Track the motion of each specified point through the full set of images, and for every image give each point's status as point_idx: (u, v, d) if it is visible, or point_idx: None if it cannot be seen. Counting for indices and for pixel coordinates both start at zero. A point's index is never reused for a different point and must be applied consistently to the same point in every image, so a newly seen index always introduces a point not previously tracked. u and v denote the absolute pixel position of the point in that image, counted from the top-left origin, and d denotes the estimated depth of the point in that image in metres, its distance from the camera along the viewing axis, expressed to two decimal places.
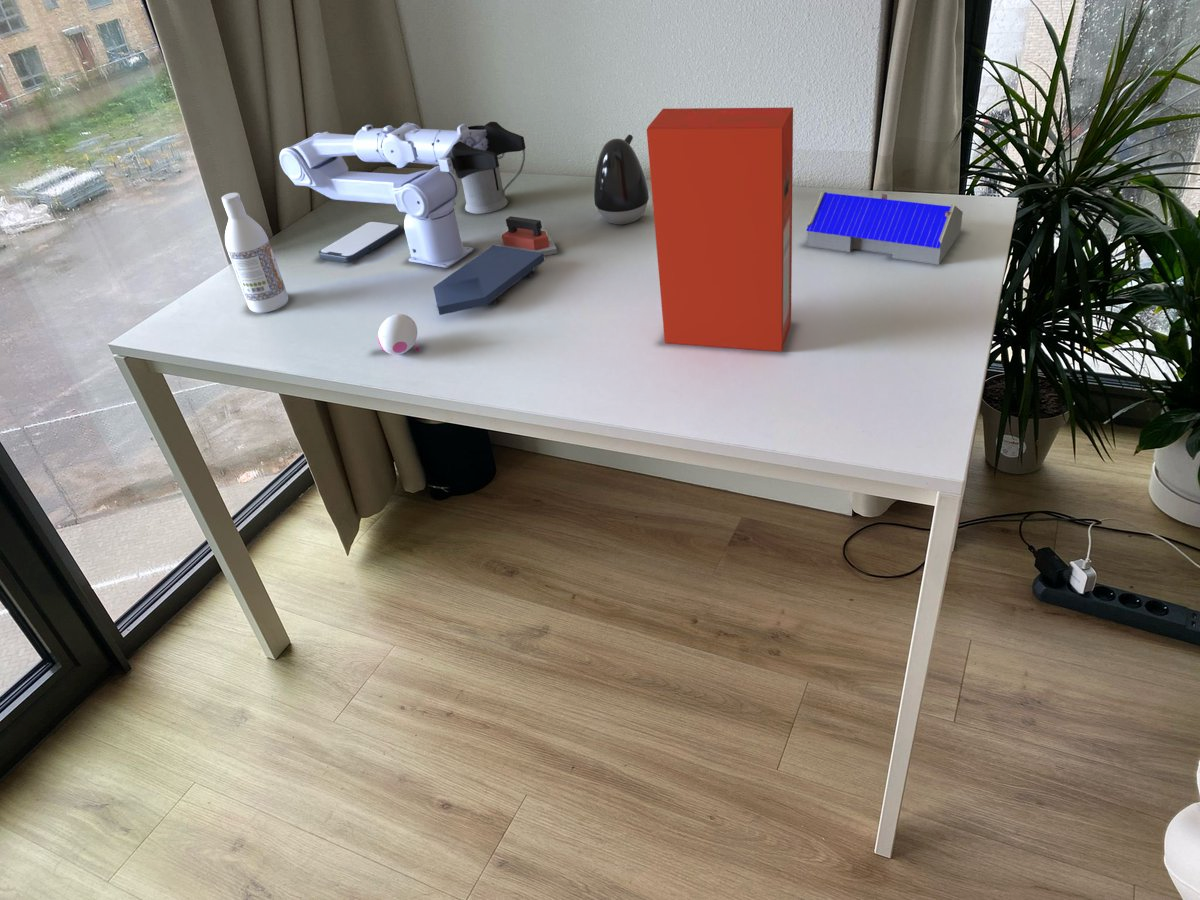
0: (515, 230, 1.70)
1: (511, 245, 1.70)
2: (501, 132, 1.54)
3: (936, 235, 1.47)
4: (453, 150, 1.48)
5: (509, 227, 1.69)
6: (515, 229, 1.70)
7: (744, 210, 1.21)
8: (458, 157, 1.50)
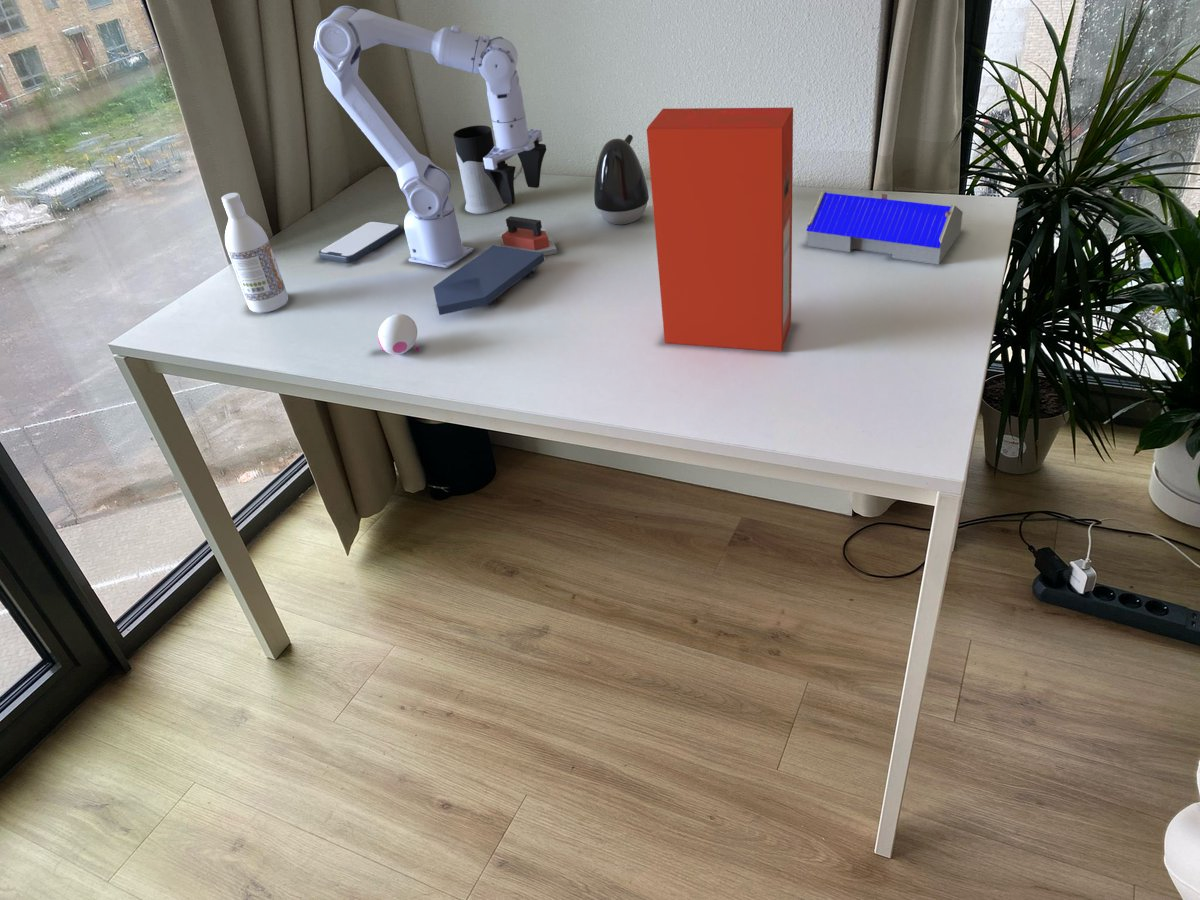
0: (515, 230, 1.70)
1: (511, 245, 1.70)
2: (537, 166, 1.64)
3: (936, 235, 1.47)
4: (505, 172, 1.55)
5: (509, 227, 1.69)
6: (515, 229, 1.70)
7: (744, 210, 1.21)
8: None
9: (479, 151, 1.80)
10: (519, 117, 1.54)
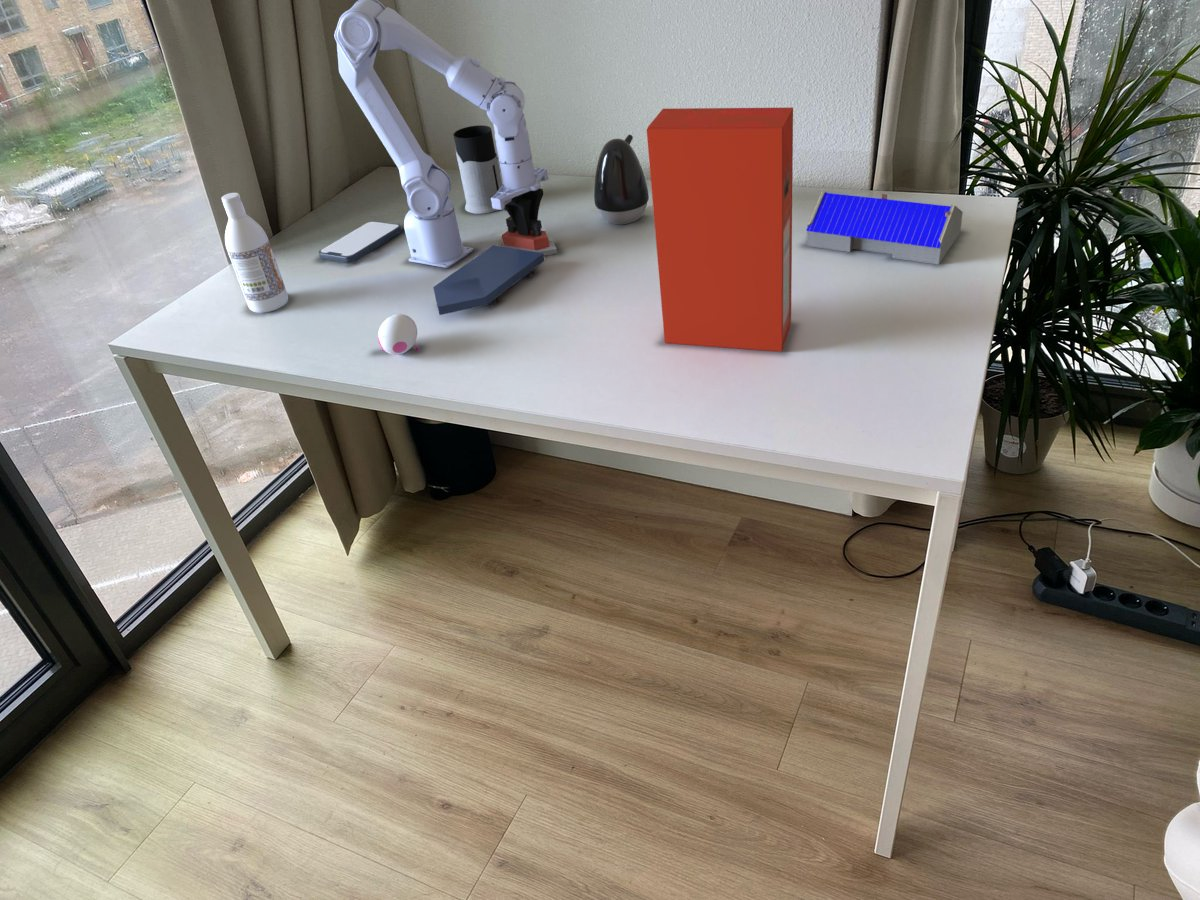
0: (515, 230, 1.70)
1: (511, 245, 1.70)
2: (534, 209, 1.66)
3: (936, 235, 1.47)
4: (521, 206, 1.61)
5: (509, 227, 1.69)
6: (515, 229, 1.70)
7: (744, 210, 1.21)
8: None
9: (479, 151, 1.80)
10: (526, 158, 1.58)
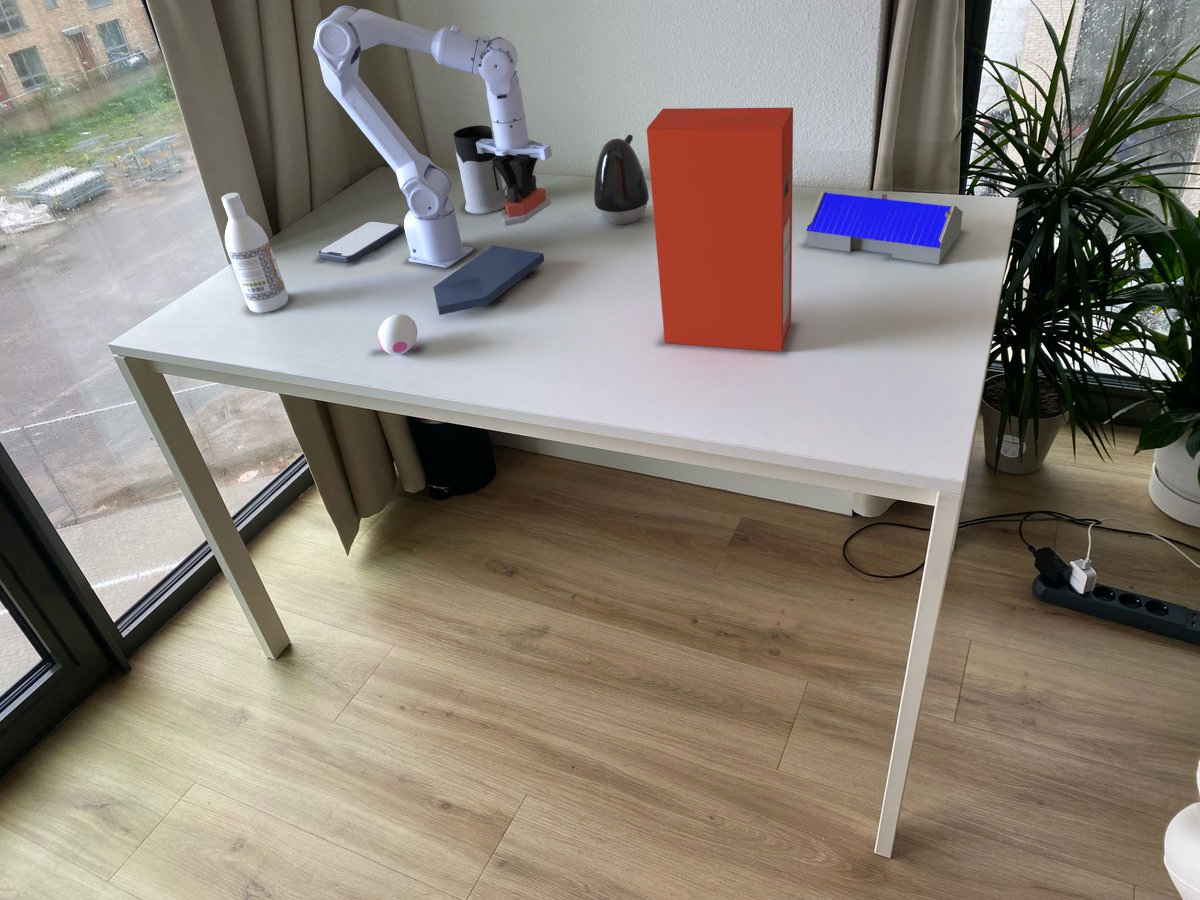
0: None
1: None
2: (516, 177, 1.60)
3: (936, 235, 1.47)
4: (492, 162, 1.61)
5: None
6: None
7: (744, 210, 1.21)
8: None
9: None
10: (519, 117, 1.54)
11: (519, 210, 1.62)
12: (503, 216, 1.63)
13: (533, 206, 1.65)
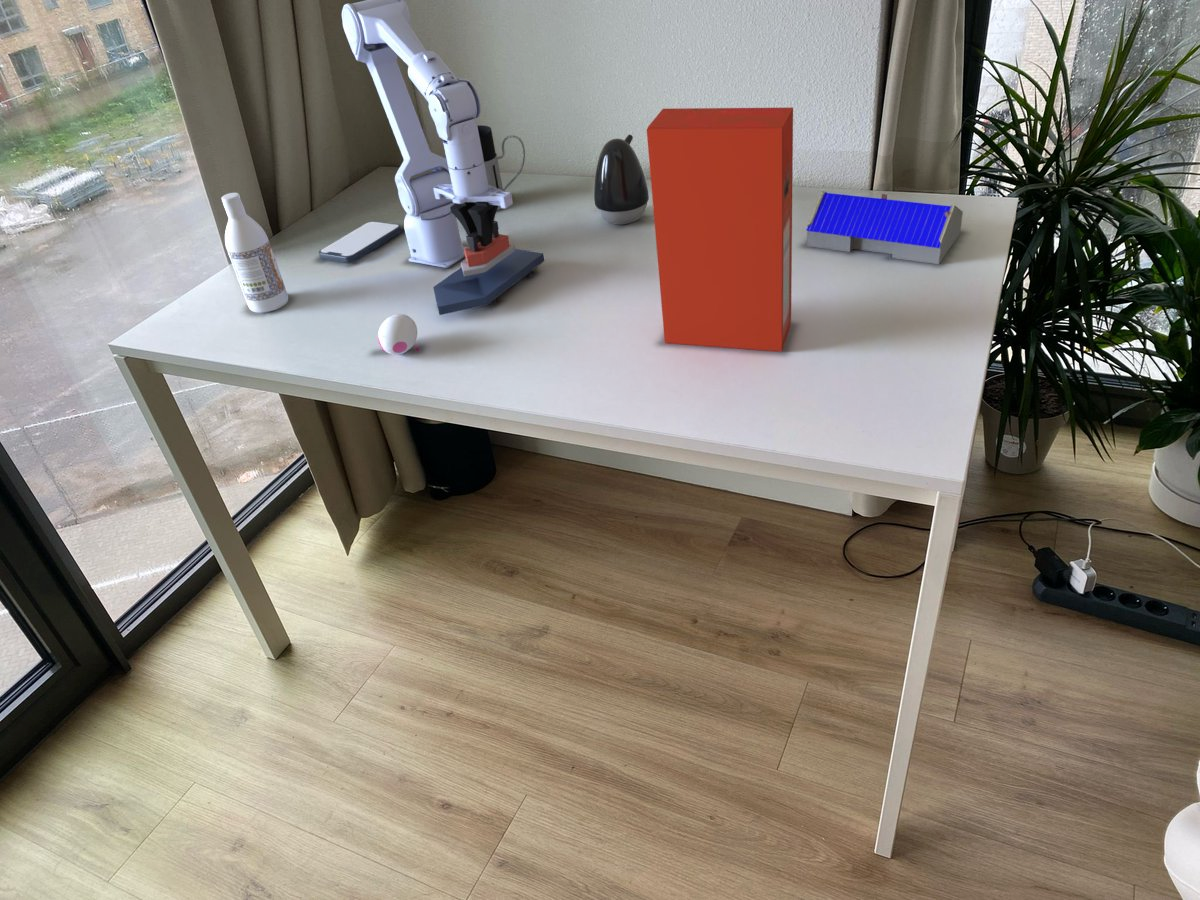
0: (492, 236, 1.57)
1: None
2: (476, 225, 1.51)
3: (936, 235, 1.47)
4: None
5: None
6: (492, 235, 1.57)
7: (744, 210, 1.21)
8: None
9: None
10: (461, 167, 1.44)
11: (479, 260, 1.53)
12: (463, 265, 1.54)
13: (495, 254, 1.55)
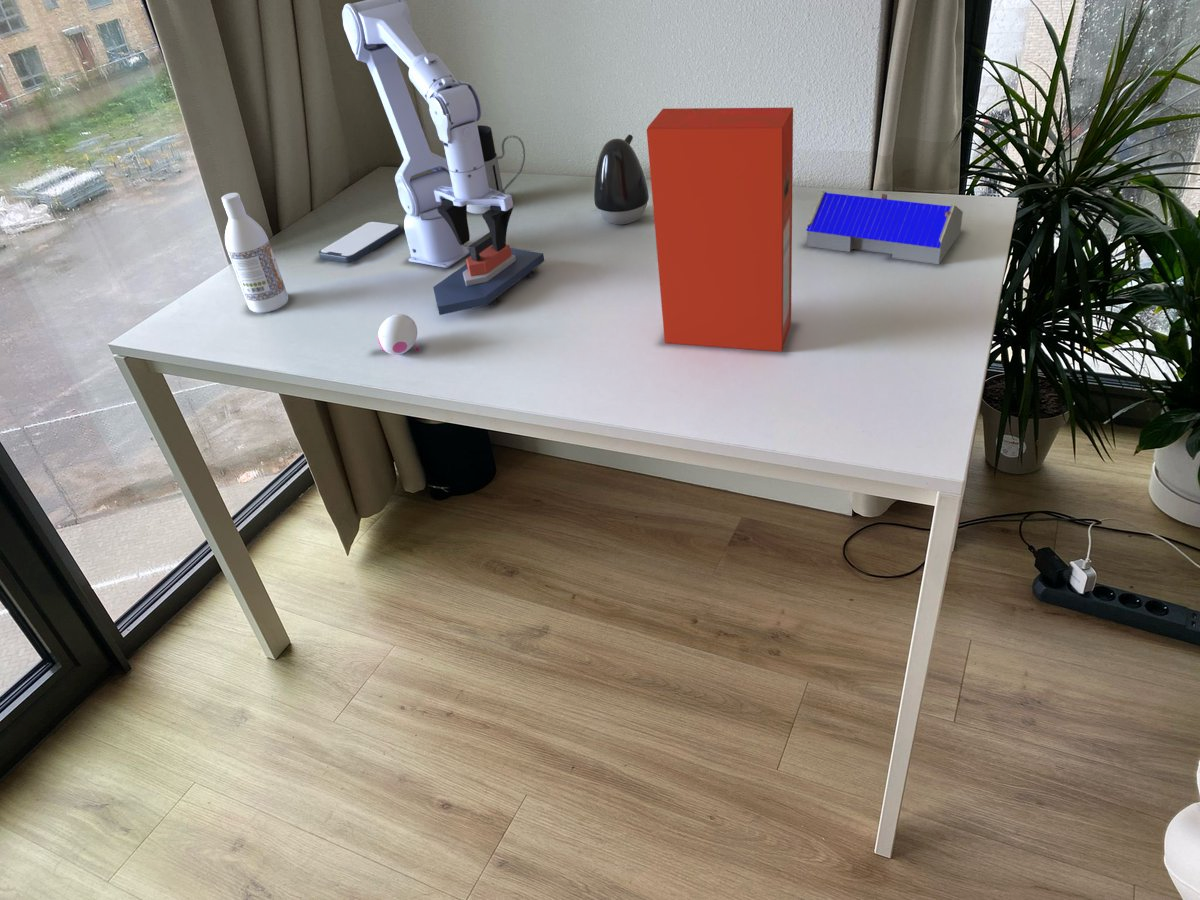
0: None
1: None
2: (490, 229, 1.50)
3: (936, 235, 1.47)
4: (438, 209, 1.53)
5: None
6: None
7: (744, 210, 1.21)
8: None
9: None
10: (462, 170, 1.45)
11: (481, 269, 1.54)
12: (465, 275, 1.55)
13: (497, 264, 1.56)
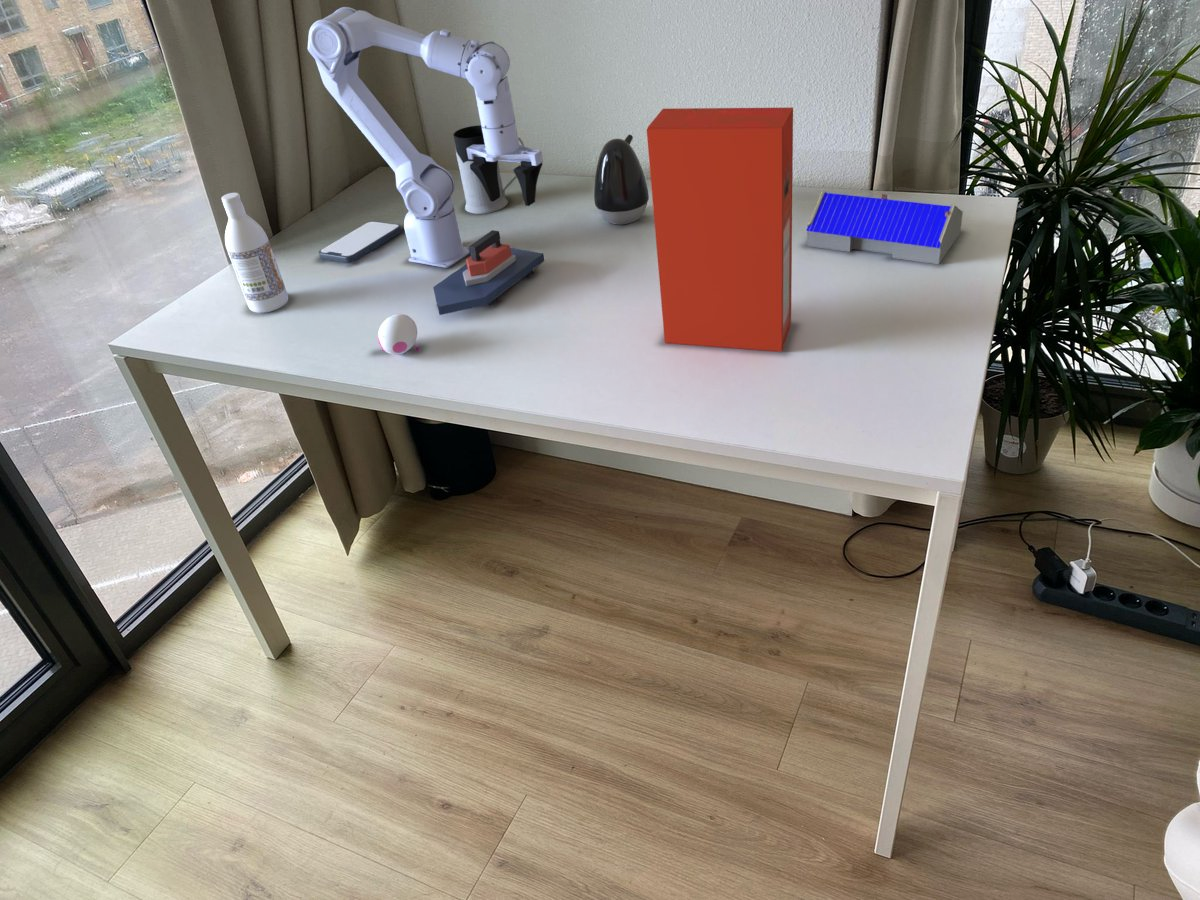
0: (494, 246, 1.58)
1: None
2: (520, 184, 1.57)
3: (936, 235, 1.47)
4: None
5: None
6: (494, 245, 1.58)
7: (744, 210, 1.21)
8: None
9: None
10: (507, 124, 1.52)
11: (481, 269, 1.54)
12: (465, 275, 1.55)
13: (497, 264, 1.56)
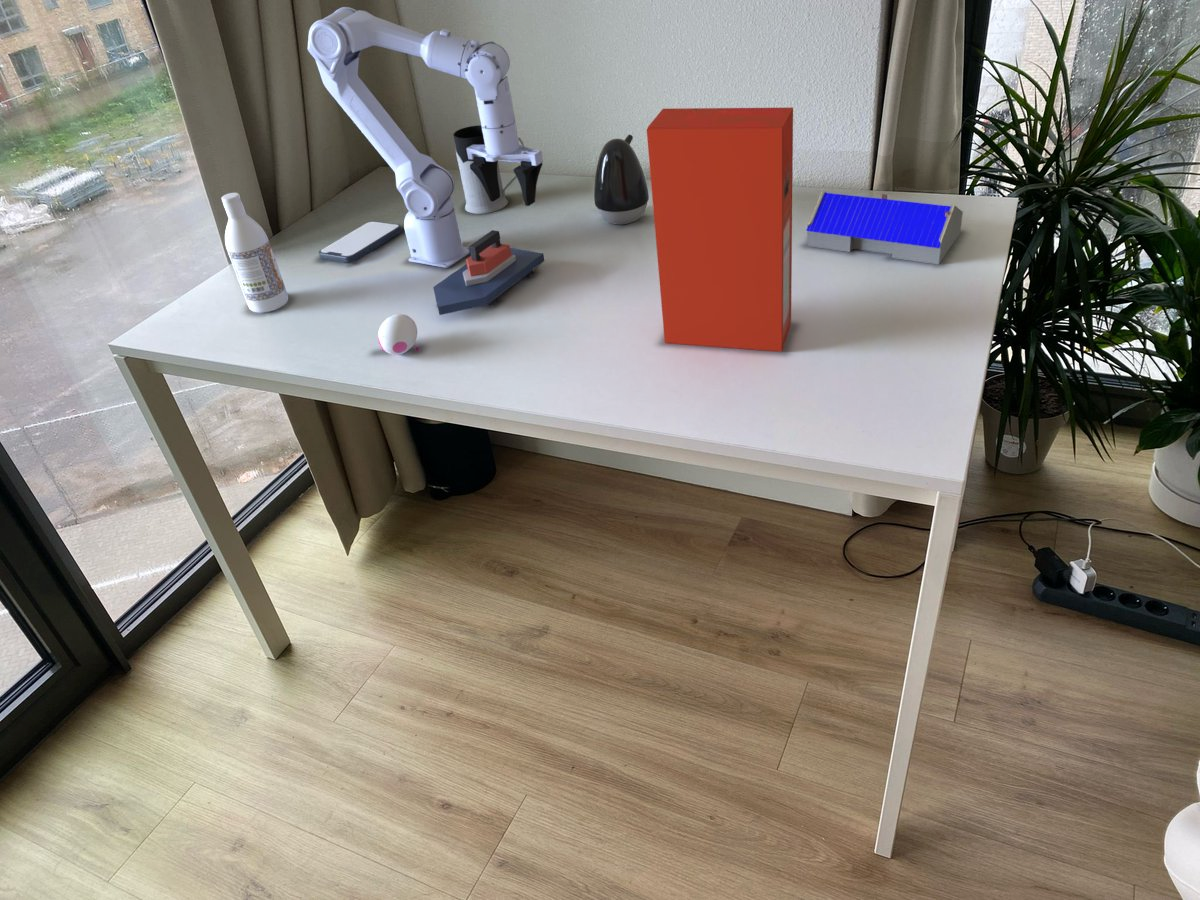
0: (494, 246, 1.58)
1: None
2: (520, 184, 1.57)
3: (936, 235, 1.47)
4: None
5: None
6: (494, 245, 1.58)
7: (744, 210, 1.21)
8: None
9: None
10: (507, 124, 1.52)
11: (481, 269, 1.54)
12: (465, 275, 1.55)
13: (497, 264, 1.56)
